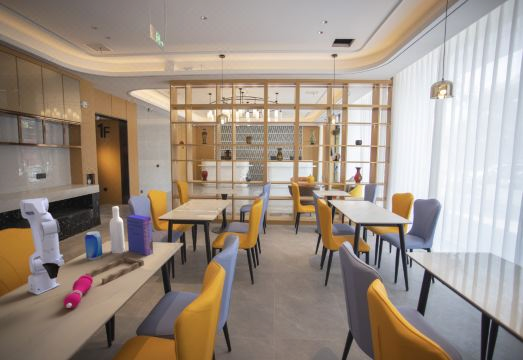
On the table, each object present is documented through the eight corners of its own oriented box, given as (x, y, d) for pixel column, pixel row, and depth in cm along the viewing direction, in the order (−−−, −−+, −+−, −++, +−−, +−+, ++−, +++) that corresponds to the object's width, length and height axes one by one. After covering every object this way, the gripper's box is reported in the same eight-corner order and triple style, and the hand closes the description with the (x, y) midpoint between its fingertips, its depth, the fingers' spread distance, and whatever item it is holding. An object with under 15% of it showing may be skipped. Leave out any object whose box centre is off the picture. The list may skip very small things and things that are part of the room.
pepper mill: (87, 290, 123) (70, 317, 104) (73, 283, 121) (53, 310, 102) (97, 278, 124) (82, 303, 105) (83, 271, 121) (65, 295, 102)
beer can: (105, 255, 161) (103, 230, 160) (95, 260, 153) (93, 235, 151) (93, 254, 162) (91, 230, 160) (83, 260, 154) (80, 234, 152)
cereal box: (153, 253, 164) (151, 217, 162) (146, 255, 160) (144, 219, 157) (135, 248, 172) (133, 214, 169) (128, 251, 168) (126, 215, 165)
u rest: (104, 283, 126) (104, 279, 126) (86, 277, 133) (85, 273, 132) (143, 264, 148) (143, 260, 147) (126, 260, 154) (126, 256, 153)
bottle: (114, 254, 162) (111, 208, 159) (109, 251, 167) (106, 207, 164) (127, 250, 169) (124, 206, 165) (121, 247, 173) (119, 204, 170)
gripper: (70, 247, 111) (73, 277, 112) (52, 242, 117) (54, 270, 118) (52, 253, 104) (55, 284, 106) (33, 248, 110) (36, 277, 112)
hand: (53, 277), depth 112 cm, fingers closed
